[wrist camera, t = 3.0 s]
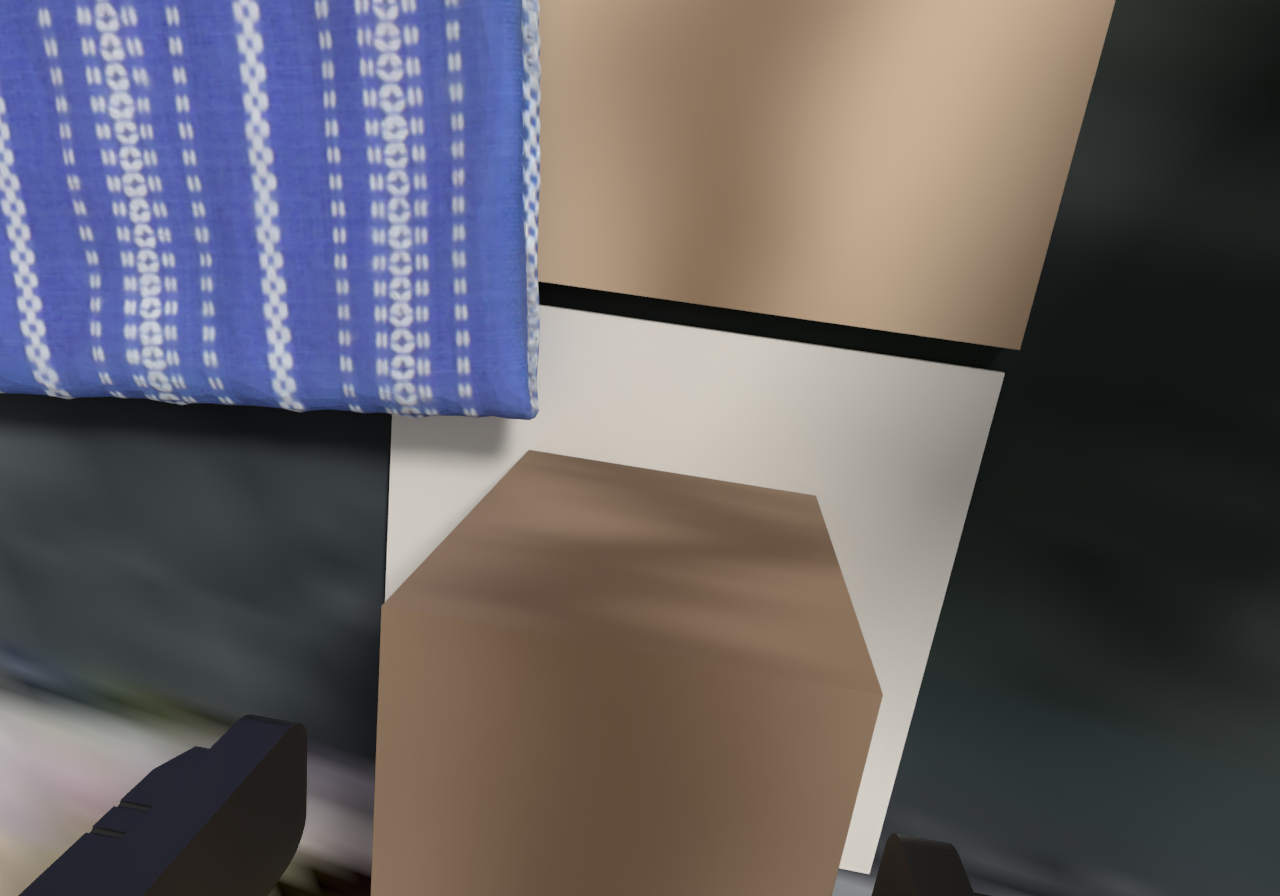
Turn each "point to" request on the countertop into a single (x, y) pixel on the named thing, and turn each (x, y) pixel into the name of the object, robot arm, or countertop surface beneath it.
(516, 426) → the tile
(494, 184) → the dish towel
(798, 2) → the coaster
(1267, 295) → the countertop surface
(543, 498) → the walnut block
